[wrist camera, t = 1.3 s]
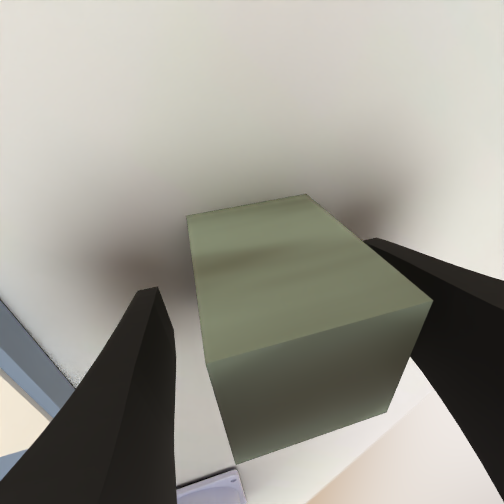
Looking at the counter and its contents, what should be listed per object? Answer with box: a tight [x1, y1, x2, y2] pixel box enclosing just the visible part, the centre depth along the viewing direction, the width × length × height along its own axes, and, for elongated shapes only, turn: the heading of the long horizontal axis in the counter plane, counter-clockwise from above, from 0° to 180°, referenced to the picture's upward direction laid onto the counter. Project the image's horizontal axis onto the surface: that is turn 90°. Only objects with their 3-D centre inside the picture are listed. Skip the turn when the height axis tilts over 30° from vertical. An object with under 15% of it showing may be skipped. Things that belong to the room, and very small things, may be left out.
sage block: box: [186, 194, 433, 465], centre depth 9 cm, size 4×4×6 cm
